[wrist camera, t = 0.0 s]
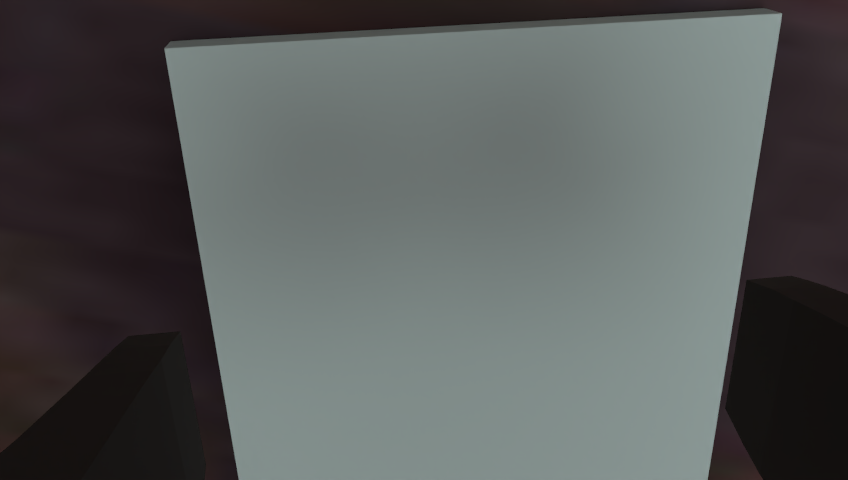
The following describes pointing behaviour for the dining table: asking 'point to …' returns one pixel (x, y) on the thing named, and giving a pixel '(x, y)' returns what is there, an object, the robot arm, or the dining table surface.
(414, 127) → the mat
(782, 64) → the dining table surface
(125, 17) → the dining table surface
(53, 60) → the dining table surface
